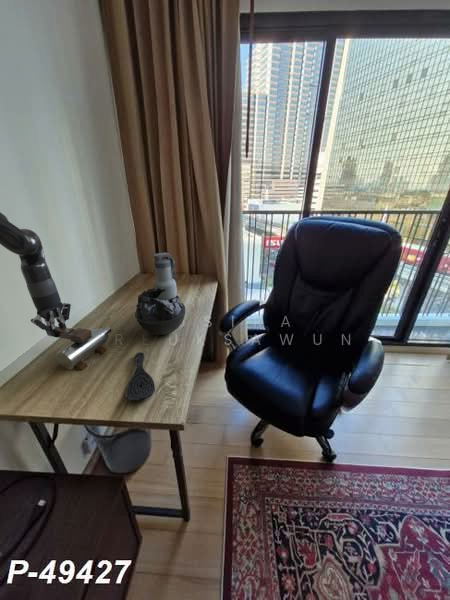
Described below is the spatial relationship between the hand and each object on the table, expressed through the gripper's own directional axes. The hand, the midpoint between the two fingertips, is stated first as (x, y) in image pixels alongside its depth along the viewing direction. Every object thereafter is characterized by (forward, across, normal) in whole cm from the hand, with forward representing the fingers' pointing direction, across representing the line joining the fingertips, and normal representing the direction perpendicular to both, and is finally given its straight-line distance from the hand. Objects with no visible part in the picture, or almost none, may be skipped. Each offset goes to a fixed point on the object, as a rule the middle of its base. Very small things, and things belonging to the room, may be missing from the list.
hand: (60, 334), depth 91 cm
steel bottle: (+8, -2, +10) cm, 13 cm away
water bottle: (+8, -42, +19) cm, 46 cm away
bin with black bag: (+8, -25, +27) cm, 37 cm away
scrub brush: (0, 0, +4) cm, 4 cm away
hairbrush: (+8, +1, +35) cm, 36 cm away
